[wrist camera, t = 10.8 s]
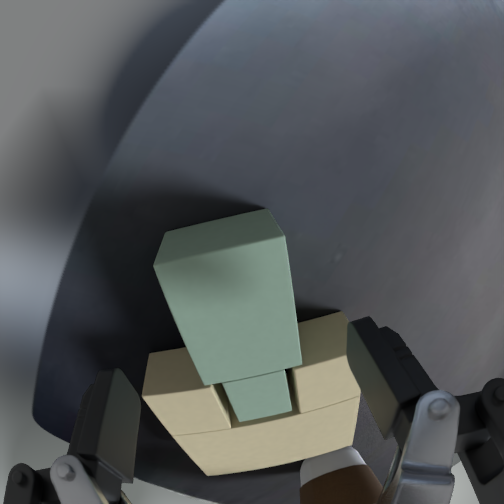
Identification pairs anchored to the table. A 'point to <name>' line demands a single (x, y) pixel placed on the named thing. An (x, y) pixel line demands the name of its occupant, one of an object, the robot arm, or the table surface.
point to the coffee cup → (338, 479)
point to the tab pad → (235, 307)
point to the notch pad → (267, 428)
